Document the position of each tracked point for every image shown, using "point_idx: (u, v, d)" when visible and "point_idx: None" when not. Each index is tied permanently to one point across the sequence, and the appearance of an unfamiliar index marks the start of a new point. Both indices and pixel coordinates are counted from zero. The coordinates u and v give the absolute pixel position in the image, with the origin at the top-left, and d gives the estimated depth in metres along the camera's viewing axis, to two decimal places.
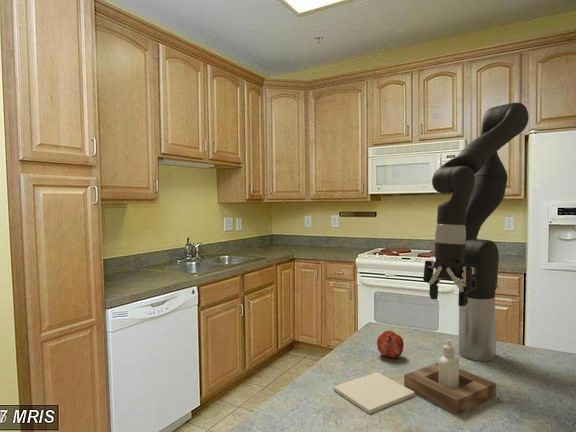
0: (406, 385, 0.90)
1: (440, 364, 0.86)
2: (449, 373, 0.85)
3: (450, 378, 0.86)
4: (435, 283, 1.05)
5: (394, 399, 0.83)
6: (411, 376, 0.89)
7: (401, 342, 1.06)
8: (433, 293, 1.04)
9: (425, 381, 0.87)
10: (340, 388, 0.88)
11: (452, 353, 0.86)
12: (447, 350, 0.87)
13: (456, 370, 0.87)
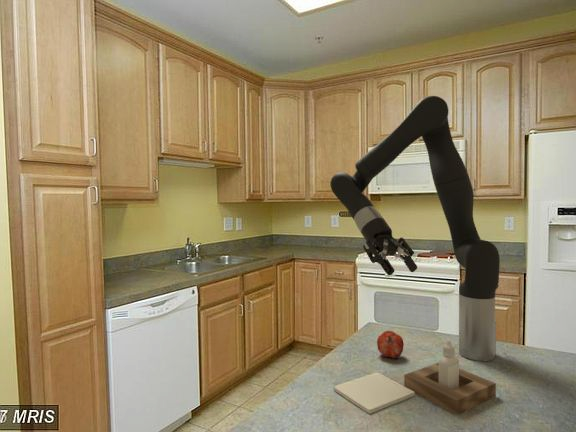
0: (406, 385, 0.90)
1: (440, 364, 0.86)
2: (449, 373, 0.85)
3: (450, 378, 0.86)
4: (405, 257, 1.03)
5: (394, 399, 0.83)
6: (411, 376, 0.89)
7: (401, 342, 1.06)
8: (408, 267, 1.02)
9: (425, 381, 0.87)
10: (340, 388, 0.88)
11: (452, 353, 0.87)
12: (447, 350, 0.87)
13: (456, 370, 0.87)
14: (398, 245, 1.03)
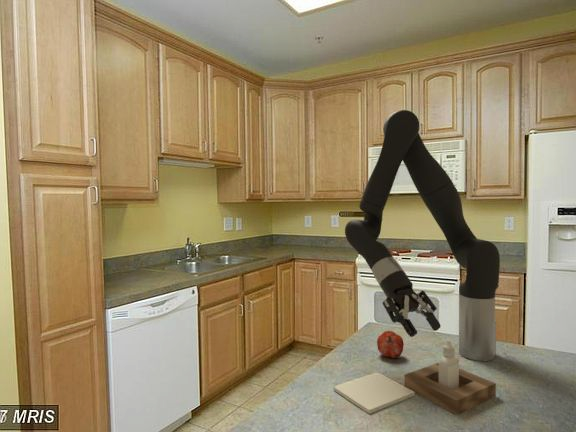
0: (406, 385, 0.90)
1: (440, 364, 0.86)
2: (449, 373, 0.85)
3: (450, 378, 0.86)
4: (427, 313, 0.97)
5: (394, 399, 0.83)
6: (411, 376, 0.89)
7: (401, 342, 1.06)
8: (431, 324, 0.96)
9: (425, 381, 0.87)
10: (340, 388, 0.88)
11: (452, 353, 0.86)
12: (447, 350, 0.87)
13: (456, 370, 0.87)
14: (420, 301, 0.97)
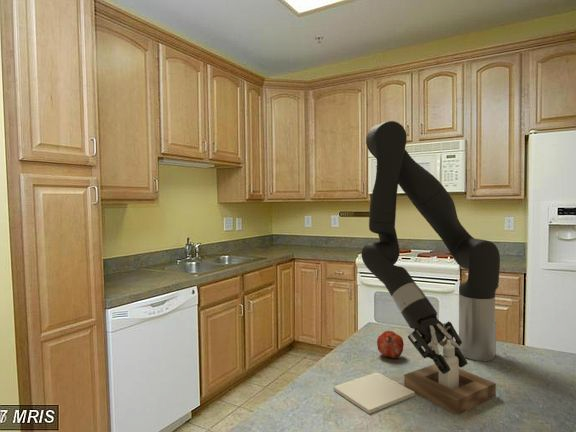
0: (406, 385, 0.90)
1: None
2: (449, 373, 0.85)
3: (450, 378, 0.86)
4: None
5: (394, 399, 0.83)
6: (411, 376, 0.89)
7: (401, 342, 1.06)
8: None
9: (425, 381, 0.87)
10: (340, 388, 0.88)
11: (452, 353, 0.86)
12: (447, 350, 0.87)
13: (456, 370, 0.87)
14: (445, 332, 0.91)
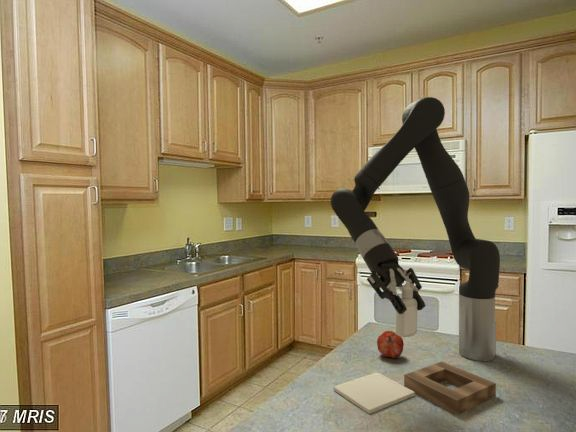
0: (406, 385, 0.90)
1: None
2: (405, 313, 0.85)
3: (406, 319, 0.85)
4: None
5: (394, 399, 0.83)
6: (411, 376, 0.89)
7: (401, 342, 1.06)
8: None
9: (425, 381, 0.87)
10: (340, 388, 0.88)
11: (410, 294, 0.86)
12: (405, 291, 0.86)
13: (414, 312, 0.86)
14: (405, 276, 0.90)
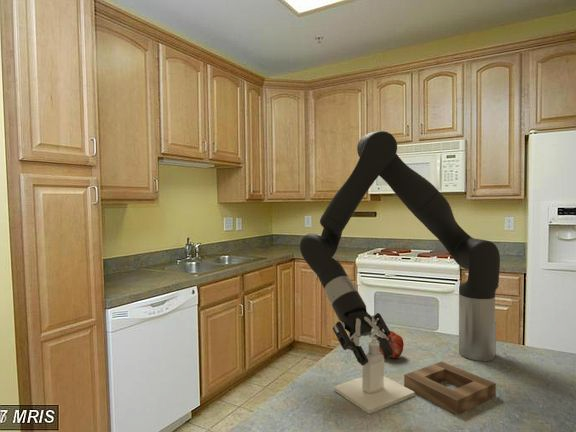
0: (406, 385, 0.90)
1: None
2: (371, 370, 0.85)
3: (372, 376, 0.85)
4: (380, 339, 0.91)
5: (394, 399, 0.83)
6: (411, 376, 0.89)
7: (401, 342, 1.06)
8: (383, 351, 0.90)
9: (425, 381, 0.87)
10: (340, 388, 0.88)
11: (376, 351, 0.86)
12: (371, 347, 0.86)
13: (380, 367, 0.87)
14: (372, 325, 0.91)
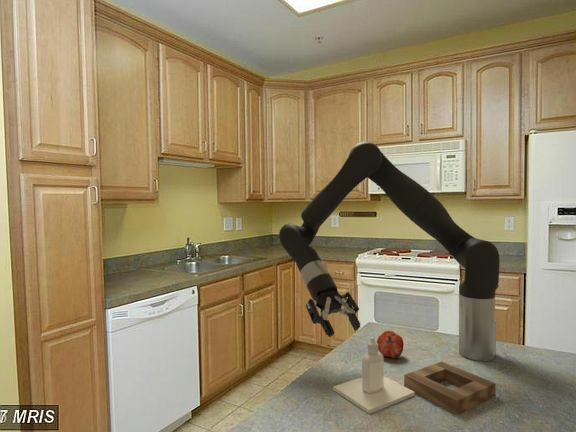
0: (406, 385, 0.90)
1: (363, 361, 0.86)
2: (371, 370, 0.85)
3: (372, 375, 0.86)
4: (349, 314, 1.02)
5: (394, 399, 0.83)
6: (411, 376, 0.89)
7: (401, 342, 1.06)
8: (352, 324, 1.01)
9: (425, 381, 0.87)
10: (340, 388, 0.88)
11: (375, 350, 0.87)
12: (370, 347, 0.87)
13: (379, 367, 0.87)
14: (342, 302, 1.02)
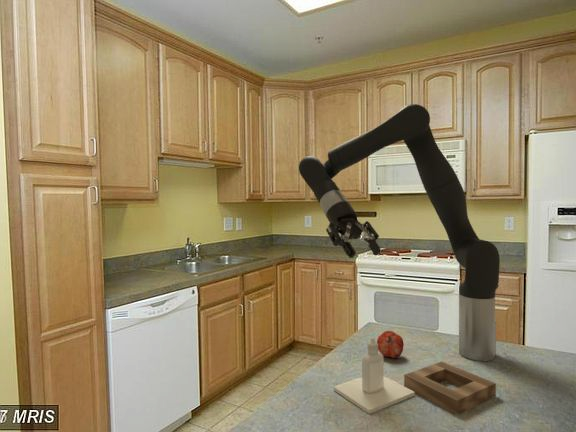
0: (406, 385, 0.90)
1: (363, 361, 0.86)
2: (371, 370, 0.85)
3: (372, 375, 0.86)
4: (369, 240, 1.02)
5: (394, 399, 0.83)
6: (411, 376, 0.89)
7: (401, 342, 1.06)
8: (372, 250, 1.01)
9: (425, 381, 0.87)
10: (340, 388, 0.88)
11: (375, 350, 0.87)
12: (370, 347, 0.87)
13: (379, 367, 0.87)
14: (362, 228, 1.02)
